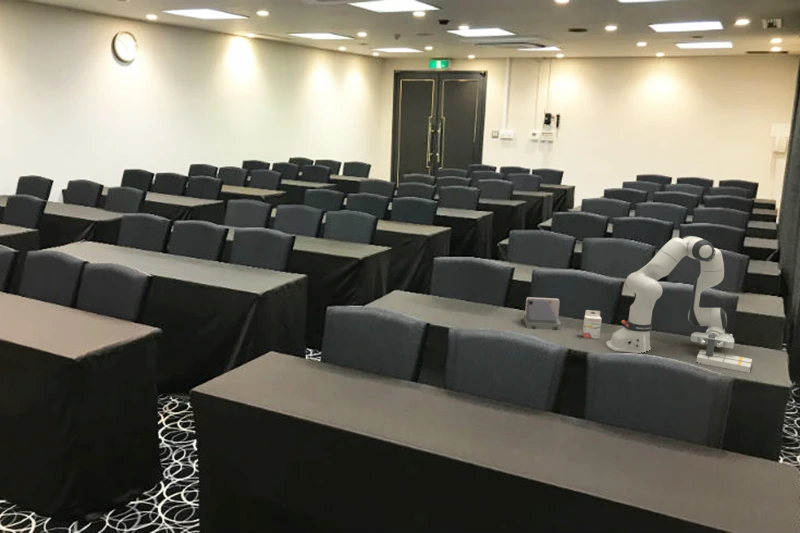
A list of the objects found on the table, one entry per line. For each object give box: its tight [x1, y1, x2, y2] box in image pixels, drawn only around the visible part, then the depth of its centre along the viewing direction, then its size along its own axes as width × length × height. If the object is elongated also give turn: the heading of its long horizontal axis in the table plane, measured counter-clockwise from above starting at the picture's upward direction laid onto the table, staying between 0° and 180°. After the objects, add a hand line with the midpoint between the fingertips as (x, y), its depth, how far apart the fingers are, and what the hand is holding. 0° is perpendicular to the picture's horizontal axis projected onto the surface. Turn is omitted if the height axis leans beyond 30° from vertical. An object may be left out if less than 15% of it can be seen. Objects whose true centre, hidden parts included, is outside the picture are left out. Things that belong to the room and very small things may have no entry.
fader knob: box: [706, 334, 716, 356], centre depth 346 cm, size 3×4×12 cm
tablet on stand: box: [523, 296, 562, 331], centre depth 396 cm, size 21×21×15 cm
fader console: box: [695, 348, 753, 374], centre depth 344 cm, size 24×14×3 cm, turn 60°
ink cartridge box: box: [582, 309, 603, 340], centre depth 376 cm, size 9×5×15 cm, turn 84°
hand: (710, 344), depth 345 cm, fingers open, 6 cm apart
